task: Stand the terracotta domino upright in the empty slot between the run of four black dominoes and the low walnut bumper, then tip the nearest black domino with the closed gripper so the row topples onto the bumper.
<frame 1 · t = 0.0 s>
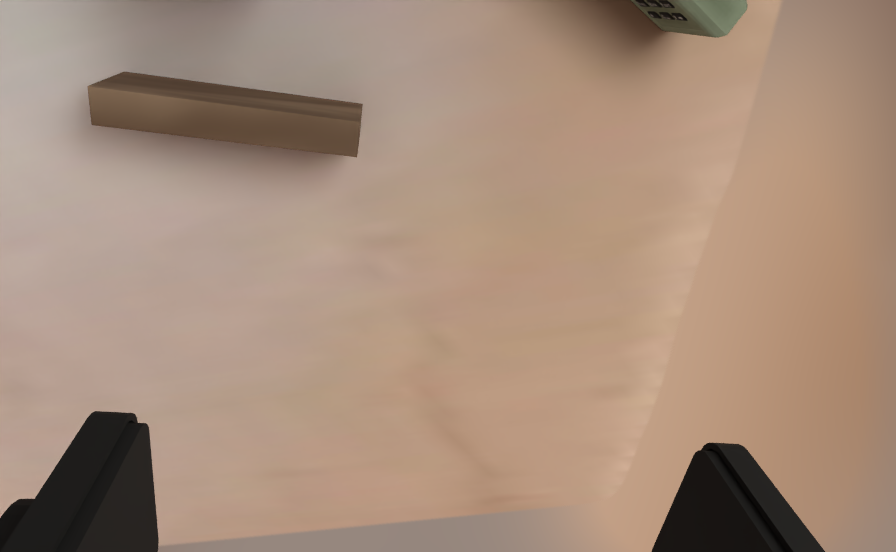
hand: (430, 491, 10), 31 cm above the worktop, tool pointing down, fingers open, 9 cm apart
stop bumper: (246, 104, 37), on the worktop
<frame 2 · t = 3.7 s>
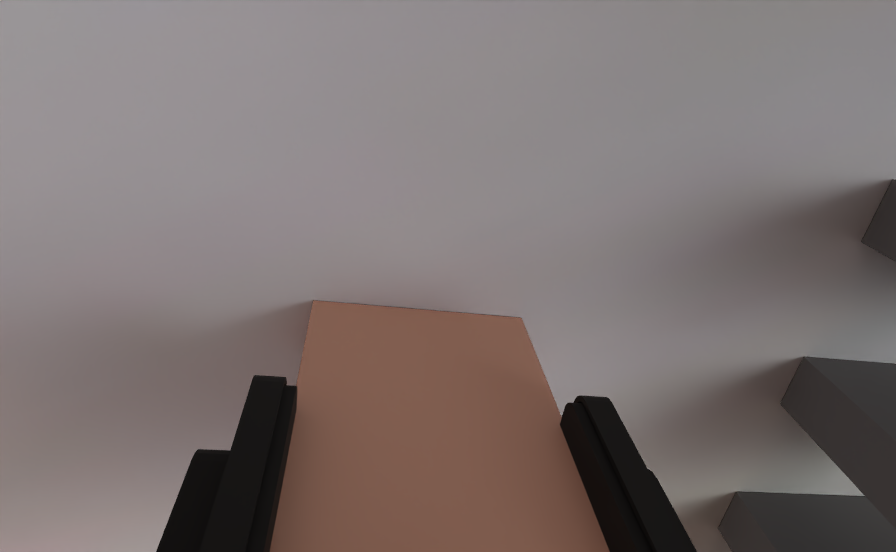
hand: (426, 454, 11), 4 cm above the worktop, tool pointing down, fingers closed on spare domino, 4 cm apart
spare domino: (415, 337, 15), on the worktop, touching gripper
domino 2: (870, 386, 17), on the worktop
domino 3: (798, 512, 19), on the worktop
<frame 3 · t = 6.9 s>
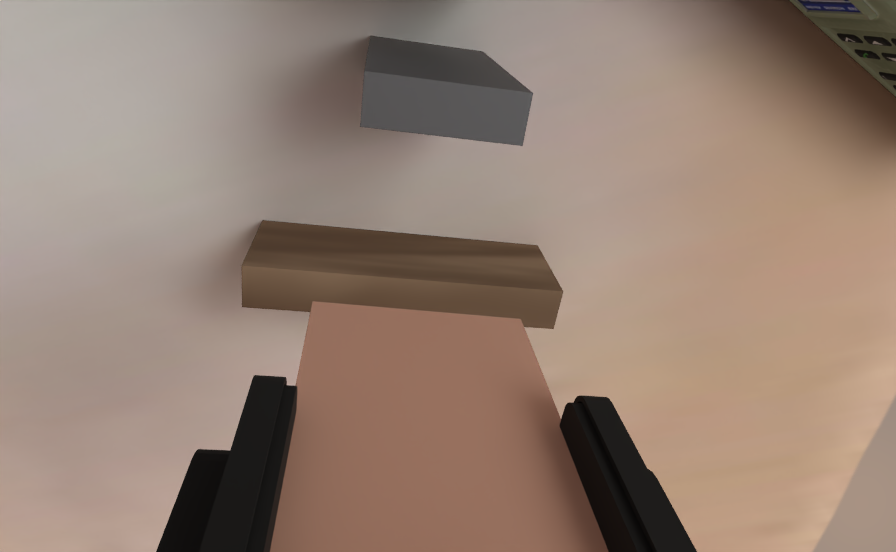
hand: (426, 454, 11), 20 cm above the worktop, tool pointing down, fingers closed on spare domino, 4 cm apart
domino 4: (425, 62, 27), on the worktop
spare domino: (415, 338, 15), point 16 cm above the worktop, touching gripper
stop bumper: (402, 251, 31), on the worktop
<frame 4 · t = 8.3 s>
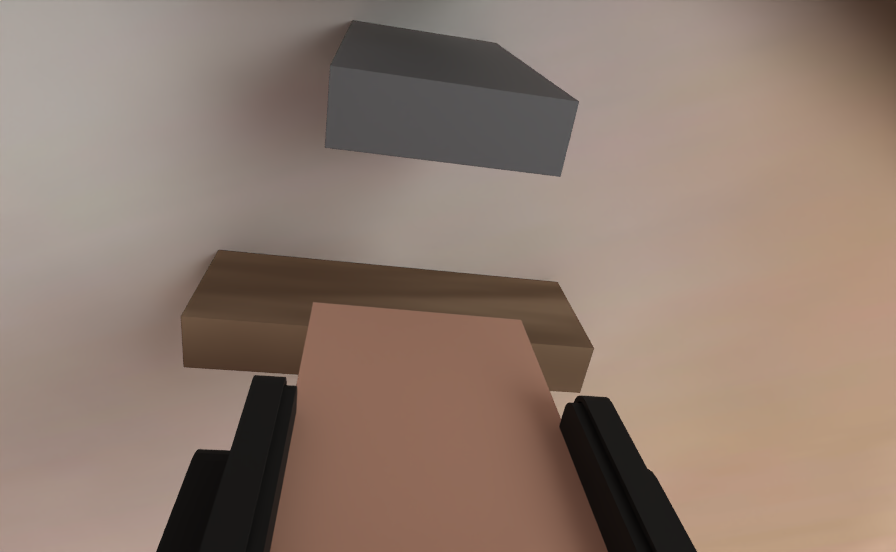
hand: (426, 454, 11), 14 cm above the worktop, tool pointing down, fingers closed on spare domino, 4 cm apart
domino 4: (422, 56, 21), on the worktop
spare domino: (415, 339, 15), point 10 cm above the worktop, touching gripper
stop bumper: (392, 287, 25), on the worktop
when the fingers open (5 cm above the worktop, at t = 10.2 s): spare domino stays where it is, on the worktop.
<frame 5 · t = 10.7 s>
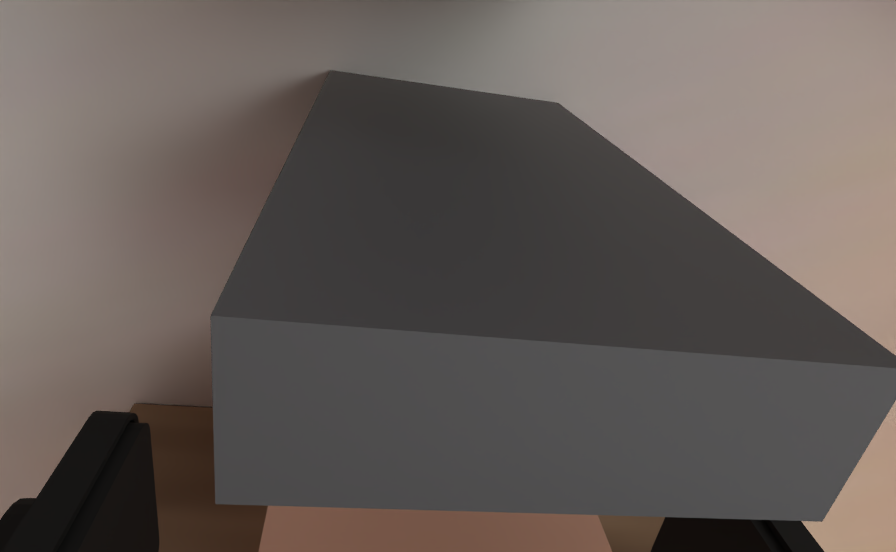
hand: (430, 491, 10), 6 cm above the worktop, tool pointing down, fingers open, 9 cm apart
domino 4: (442, 124, 13), on the worktop
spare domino: (411, 317, 15), on the worktop
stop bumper: (394, 444, 17), on the worktop
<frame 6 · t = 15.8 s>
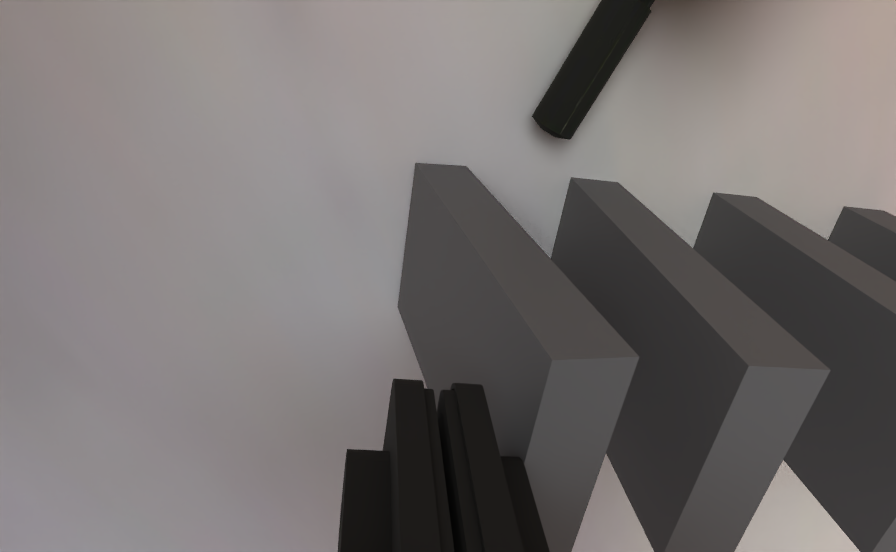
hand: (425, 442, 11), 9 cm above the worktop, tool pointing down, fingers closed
domino 4: (833, 272, 22), on the worktop
domino 1: (430, 239, 19), on the worktop, tilted 8°
domino 2: (575, 250, 20), on the worktop
domino 3: (709, 261, 21), on the worktop
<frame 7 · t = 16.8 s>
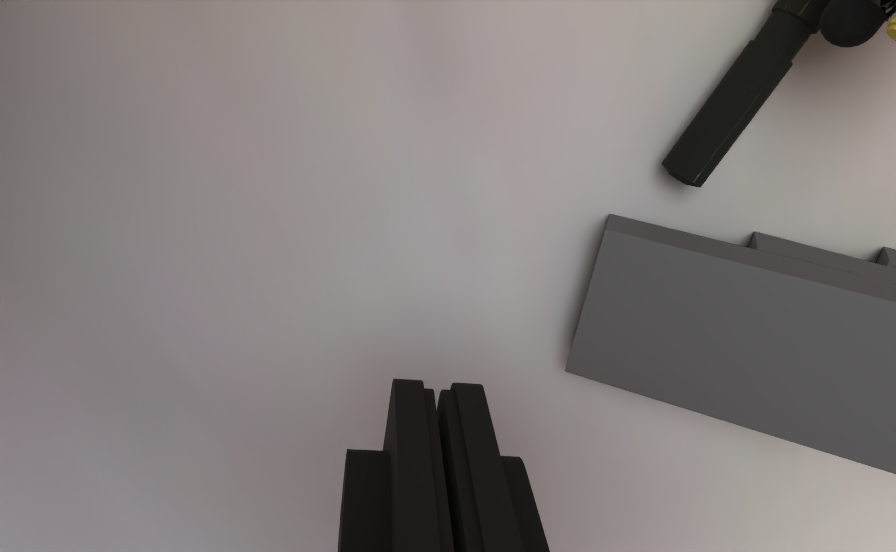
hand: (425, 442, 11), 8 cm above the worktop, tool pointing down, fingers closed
domino 1: (586, 294, 19), point 1 cm above the worktop, tilted 66°, touching domino 2
domino 2: (727, 307, 20), point 1 cm above the worktop, tilted 62°, touching domino 1, domino 3
domino 3: (852, 319, 21), point 1 cm above the worktop, tilted 55°, touching domino 2, domino 4
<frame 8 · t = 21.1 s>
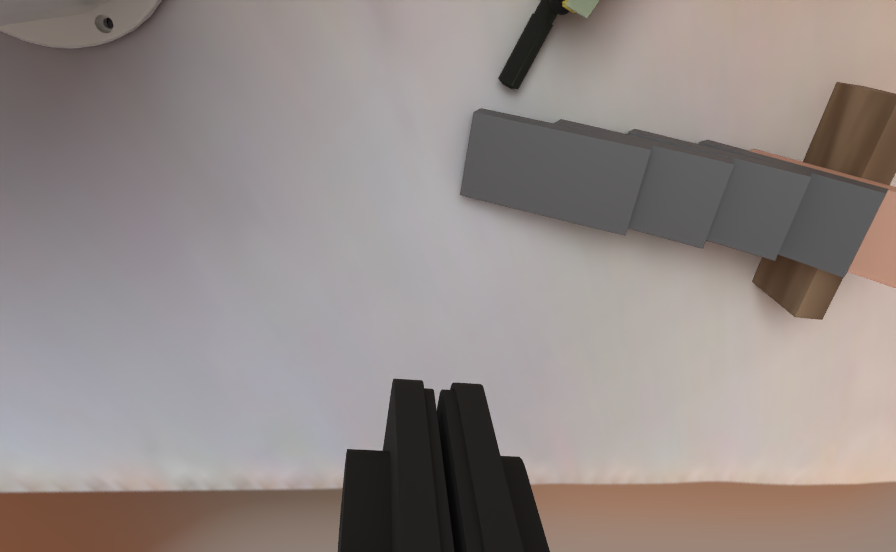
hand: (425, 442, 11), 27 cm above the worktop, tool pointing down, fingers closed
domino 4: (690, 179, 38), point 1 cm above the worktop, tilted 44°, touching domino 3, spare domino
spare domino: (735, 188, 38), point 1 cm above the worktop, tilted 44°, touching domino 4, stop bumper
domino 1: (470, 152, 36), point 1 cm above the worktop, tilted 66°, touching domino 2
domino 2: (548, 161, 37), point 1 cm above the worktop, tilted 62°, touching domino 1, domino 3
domino 3: (620, 170, 37), point 1 cm above the worktop, tilted 55°, touching domino 2, domino 4
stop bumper: (804, 191, 40), on the worktop
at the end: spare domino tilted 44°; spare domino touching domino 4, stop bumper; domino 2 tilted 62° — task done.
